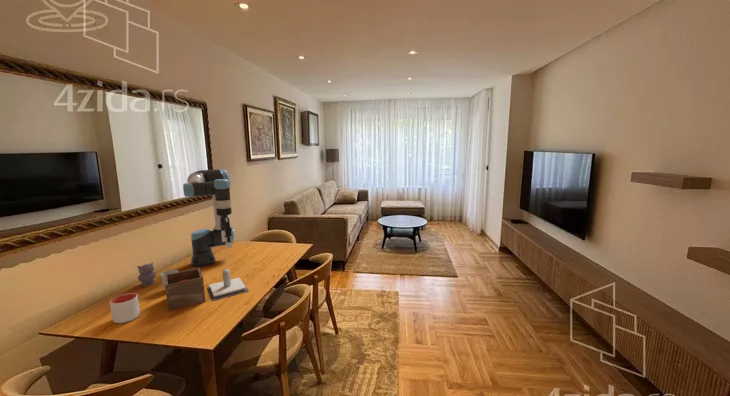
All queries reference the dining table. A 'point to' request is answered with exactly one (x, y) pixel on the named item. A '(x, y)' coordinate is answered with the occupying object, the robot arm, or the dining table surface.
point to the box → (184, 289)
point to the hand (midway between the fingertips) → (226, 244)
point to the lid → (227, 285)
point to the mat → (226, 294)
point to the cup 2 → (166, 274)
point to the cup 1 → (125, 308)
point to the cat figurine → (146, 274)
